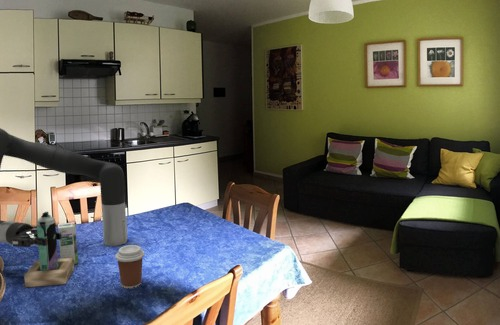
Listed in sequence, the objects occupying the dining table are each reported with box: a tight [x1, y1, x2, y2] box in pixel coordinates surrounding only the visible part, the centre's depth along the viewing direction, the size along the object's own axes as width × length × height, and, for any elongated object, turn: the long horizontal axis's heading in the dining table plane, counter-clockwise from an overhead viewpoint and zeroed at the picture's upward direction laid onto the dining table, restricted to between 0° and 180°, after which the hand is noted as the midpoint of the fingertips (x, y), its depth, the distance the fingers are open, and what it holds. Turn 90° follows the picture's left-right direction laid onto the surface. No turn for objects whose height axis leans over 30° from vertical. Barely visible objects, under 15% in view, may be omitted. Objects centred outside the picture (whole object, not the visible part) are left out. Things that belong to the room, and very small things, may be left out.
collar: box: [23, 258, 75, 288], centre depth 132 cm, size 12×12×4 cm
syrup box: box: [57, 221, 79, 265], centre depth 143 cm, size 6×6×14 cm
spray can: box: [36, 211, 59, 271], centre depth 130 cm, size 6×6×20 cm
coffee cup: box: [114, 244, 145, 289], centre depth 127 cm, size 9×9×12 cm
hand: (53, 239), depth 129 cm, fingers closed on spray can, 5 cm apart
